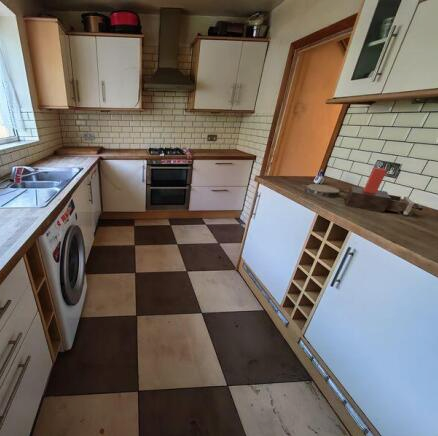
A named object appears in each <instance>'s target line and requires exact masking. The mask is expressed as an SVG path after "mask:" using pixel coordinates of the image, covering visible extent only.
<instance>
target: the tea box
mask: <svg viewBox="0 0 438 436" xmlns="http://www.w3.org/2000/svg"><path fill="white" fill-rule="evenodd" d="M387 171H388V170H387V169H386V168H381V167H372V170H371V173H370V175H369V177H368V179H367V181H366V182H365V183H366V184H365V186H364V187H363V188H364V192H369V193H375V194H376V192H377V190H379V188H380V186H381V184H382V182H383V180H384V178H385V176H386V174H387Z"/></svg>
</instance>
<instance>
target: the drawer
mask: <svg viewBox="0 0 438 436" xmlns="http://www.w3.org/2000/svg"><path fill="white" fill-rule="evenodd" d="M388 195H389V196H390V198H391V200H390V201H389V203H388V205H387V207H386V209H385V211H390V212H395V213H401V212H402V214H403V215H405V216H408V215H409V213H410V212H411V210H412V209H415V210H418V211H423V209H424V208H423V207H422V206H421V205H420V204H419V203H414V202H413V201H412V200H411V199H410V197H408V196H404V197H403V199H402V196H400V195H394V194H388ZM401 199H402V200H401Z"/></svg>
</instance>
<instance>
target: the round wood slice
mask: <svg viewBox="0 0 438 436" xmlns="http://www.w3.org/2000/svg"><path fill="white" fill-rule="evenodd" d="M306 192H307V193H309V194H311V195H315V196H318V197H323V198H324V197H325V198H336V197H338V196H339V193H340V189H339V188H337V187H334V186H330V185H325V184H318V183H317V184H316V183H310V184H308V185H307V187H306Z"/></svg>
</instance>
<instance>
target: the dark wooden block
mask: <svg viewBox="0 0 438 436" xmlns="http://www.w3.org/2000/svg"><path fill="white" fill-rule="evenodd" d="M364 188H365V187H361V186H354V185H350V188H349V190H348V192H347V195H346V197H345V203H346V206H348V207H352V208H357V209H363V210H367V211H368V210H369V211H373V212H378V213H384V212H385V211H386V210H385V209H386V207H387V205H388V203H389V201H390V200H391V198H390V196H389V195H390V194H389V193H388V191H386V190H379V189H378V190H377V192H376V194H375V193H369V192H364Z"/></svg>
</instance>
